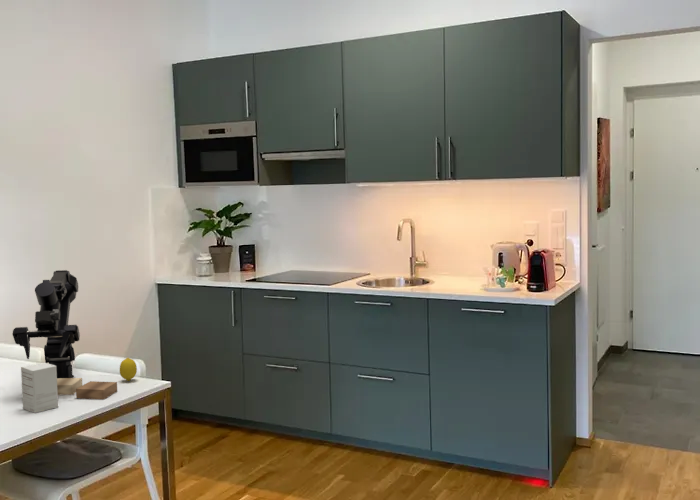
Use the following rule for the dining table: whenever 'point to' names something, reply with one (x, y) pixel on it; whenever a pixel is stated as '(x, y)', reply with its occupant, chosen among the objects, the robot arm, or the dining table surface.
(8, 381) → the dining table surface
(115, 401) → the dining table surface
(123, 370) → the lemon
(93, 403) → the dining table surface
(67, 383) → the pale oak block
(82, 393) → the walnut block
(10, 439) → the dining table surface
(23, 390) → the supplement box
